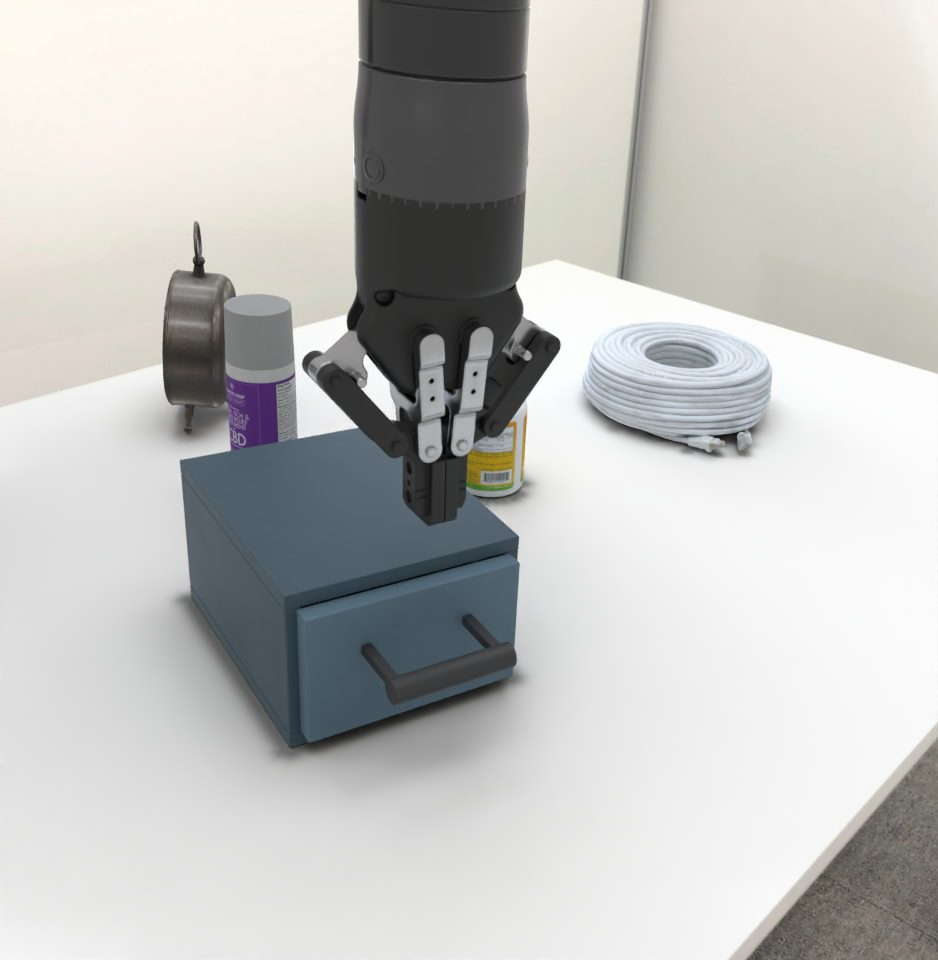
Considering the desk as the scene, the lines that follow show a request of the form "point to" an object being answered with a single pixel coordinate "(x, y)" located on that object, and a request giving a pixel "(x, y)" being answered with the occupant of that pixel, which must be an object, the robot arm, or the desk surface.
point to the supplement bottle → (499, 460)
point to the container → (260, 370)
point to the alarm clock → (195, 336)
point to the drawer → (405, 644)
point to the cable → (679, 382)
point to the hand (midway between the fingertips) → (433, 516)
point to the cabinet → (308, 546)
